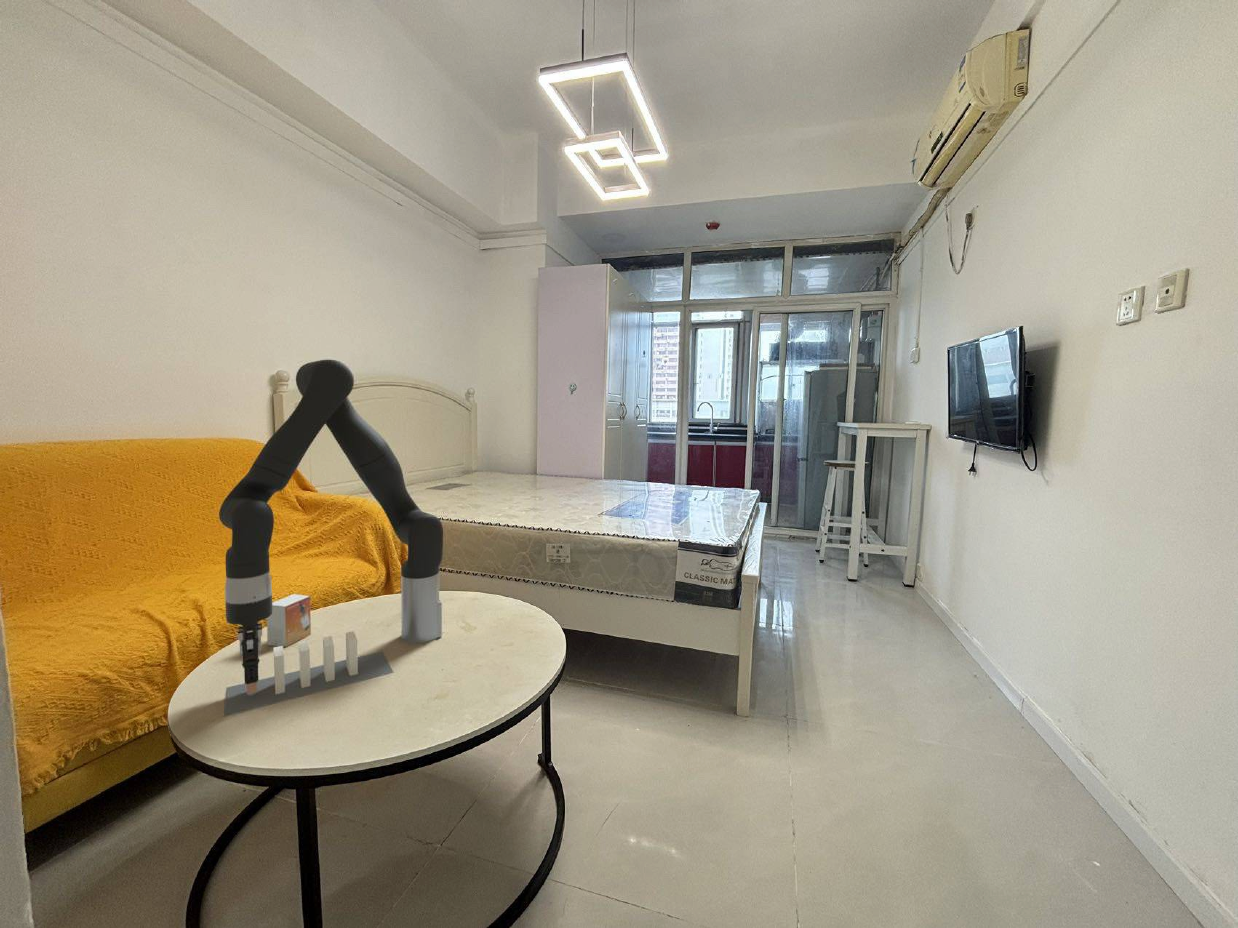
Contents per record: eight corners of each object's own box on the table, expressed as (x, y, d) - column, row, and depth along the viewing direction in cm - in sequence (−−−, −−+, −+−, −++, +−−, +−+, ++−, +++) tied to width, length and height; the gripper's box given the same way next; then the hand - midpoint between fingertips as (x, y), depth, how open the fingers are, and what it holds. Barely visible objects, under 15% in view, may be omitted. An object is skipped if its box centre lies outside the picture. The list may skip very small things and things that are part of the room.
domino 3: (308, 675, 109) (307, 640, 108) (310, 685, 105) (309, 649, 104) (299, 677, 108) (298, 642, 107) (301, 687, 104) (300, 651, 103)
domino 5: (354, 664, 114) (353, 631, 114) (357, 673, 110) (357, 639, 110) (346, 666, 113) (345, 632, 113) (349, 675, 109) (349, 641, 109)
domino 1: (256, 680, 103) (255, 644, 103) (256, 691, 99) (255, 653, 99) (247, 683, 103) (245, 646, 102) (246, 694, 99) (245, 655, 98)
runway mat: (382, 652, 121) (382, 651, 121) (393, 673, 112) (393, 672, 111) (226, 689, 103) (226, 687, 103) (223, 718, 94) (223, 716, 94)
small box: (285, 648, 122) (284, 606, 121) (266, 645, 123) (265, 604, 122) (311, 634, 130) (310, 595, 129) (293, 631, 131) (292, 593, 130)
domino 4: (331, 669, 112) (331, 635, 111) (334, 679, 108) (333, 644, 107) (323, 671, 111) (322, 637, 110) (326, 681, 107) (325, 646, 106)
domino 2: (283, 681, 106) (282, 645, 106) (284, 692, 102) (283, 655, 102) (274, 683, 105) (273, 647, 105) (275, 694, 101) (274, 657, 101)
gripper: (272, 603, 96) (275, 686, 97) (271, 582, 107) (273, 657, 109) (223, 610, 91) (226, 698, 93) (226, 588, 103) (229, 666, 104)
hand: (251, 675), depth 101 cm, fingers closed on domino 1, 5 cm apart
